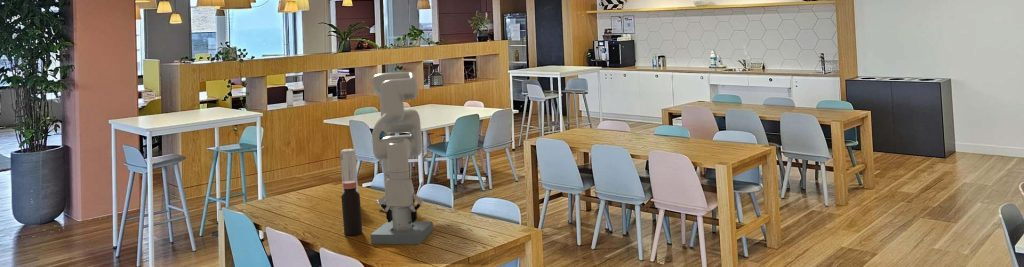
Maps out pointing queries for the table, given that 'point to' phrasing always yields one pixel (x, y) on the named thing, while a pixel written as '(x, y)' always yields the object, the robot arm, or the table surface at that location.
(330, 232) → the table surface
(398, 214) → the skincare box
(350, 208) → the bottle
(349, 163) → the air filter
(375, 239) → the socket block
